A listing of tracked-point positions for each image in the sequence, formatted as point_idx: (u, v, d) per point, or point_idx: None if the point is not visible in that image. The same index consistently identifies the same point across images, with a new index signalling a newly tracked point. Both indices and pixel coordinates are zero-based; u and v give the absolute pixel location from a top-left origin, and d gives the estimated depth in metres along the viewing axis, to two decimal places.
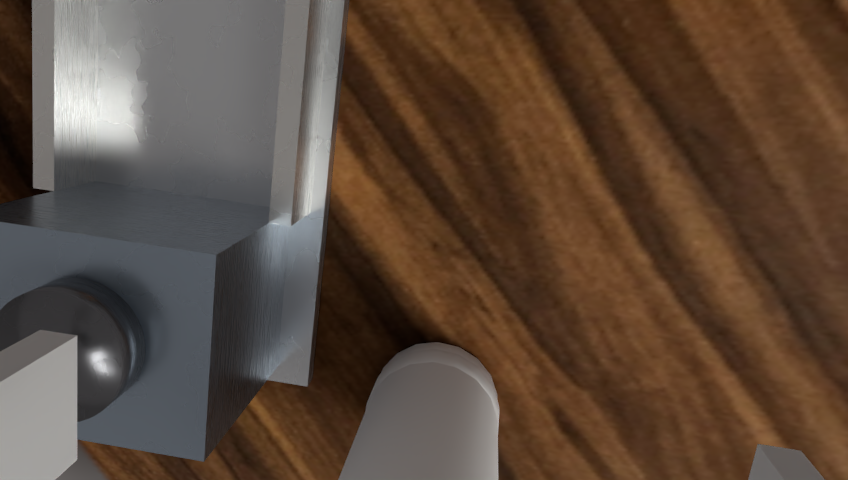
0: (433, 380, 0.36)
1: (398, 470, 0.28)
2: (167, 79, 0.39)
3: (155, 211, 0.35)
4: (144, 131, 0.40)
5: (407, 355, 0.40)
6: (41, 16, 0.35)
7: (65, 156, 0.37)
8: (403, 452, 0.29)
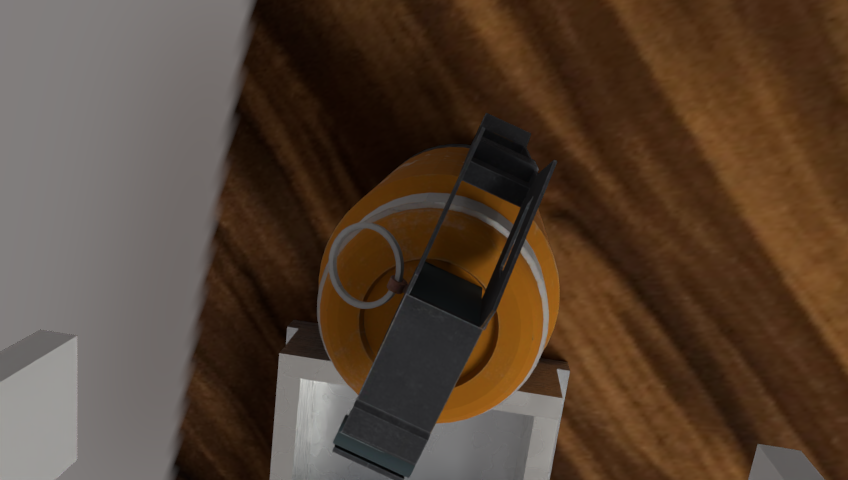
0: None
1: None
2: (378, 476, 0.40)
3: None
4: None
5: None
6: (280, 462, 0.36)
7: None
8: None
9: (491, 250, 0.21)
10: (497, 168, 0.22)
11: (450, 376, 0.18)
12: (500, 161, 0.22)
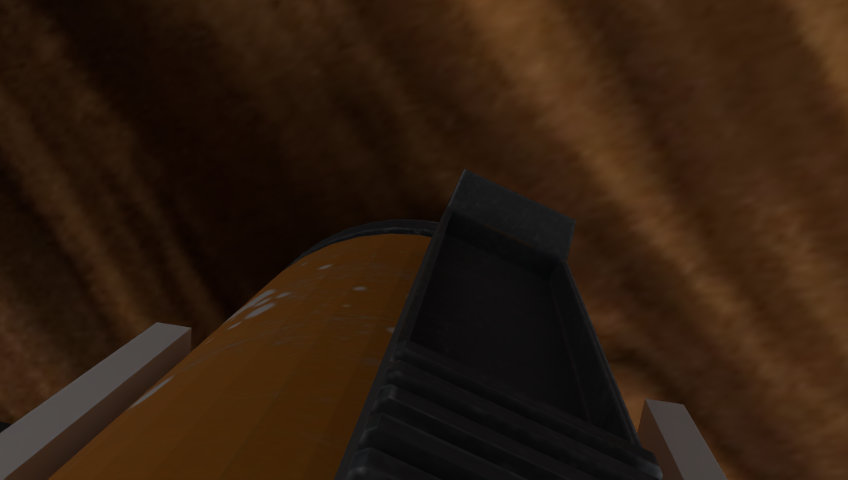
0: None
1: None
2: None
3: None
4: None
5: None
6: None
7: None
8: None
9: None
10: None
11: None
12: None
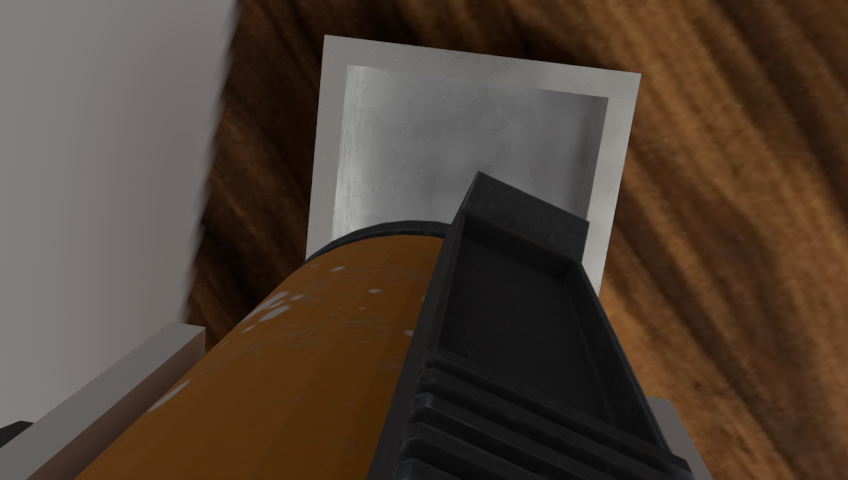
0: None
1: None
2: (425, 218, 0.37)
3: None
4: None
5: None
6: (323, 169, 0.33)
7: None
8: None
9: None
10: None
11: None
12: None
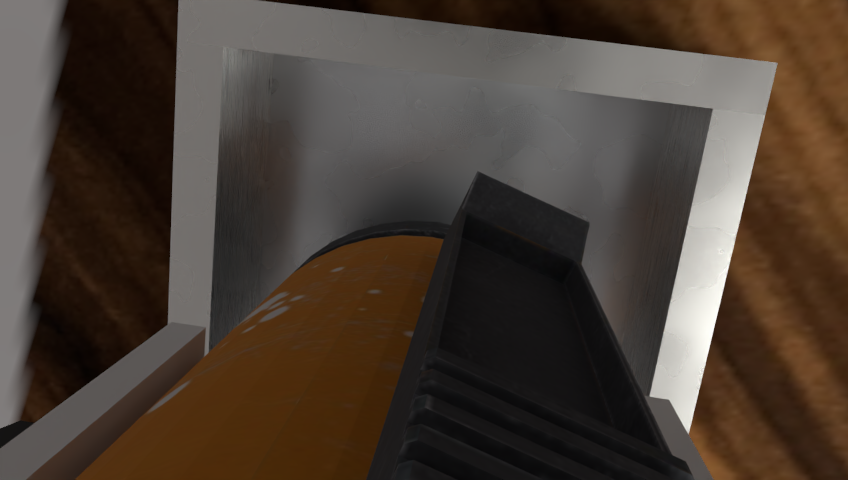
0: None
1: None
2: None
3: None
4: None
5: None
6: (189, 235, 0.18)
7: None
8: None
9: None
10: None
11: None
12: None
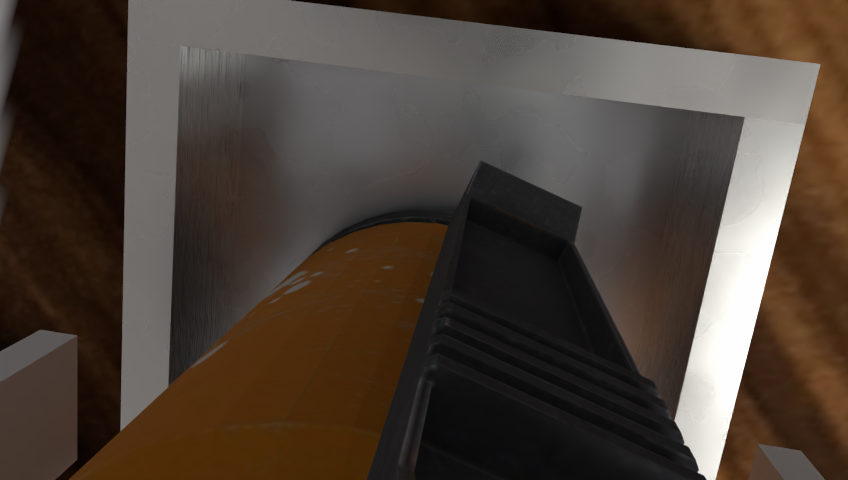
0: None
1: None
2: None
3: None
4: None
5: None
6: (144, 260, 0.16)
7: None
8: None
9: None
10: None
11: None
12: (539, 462, 0.05)
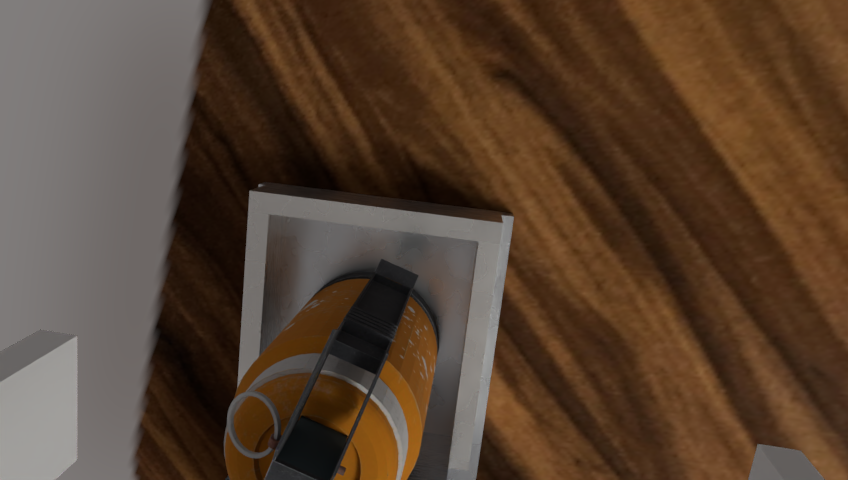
0: None
1: None
2: None
3: None
4: None
5: None
6: (251, 296, 0.40)
7: None
8: None
9: (352, 409, 0.27)
10: (361, 340, 0.29)
11: None
12: (363, 334, 0.29)
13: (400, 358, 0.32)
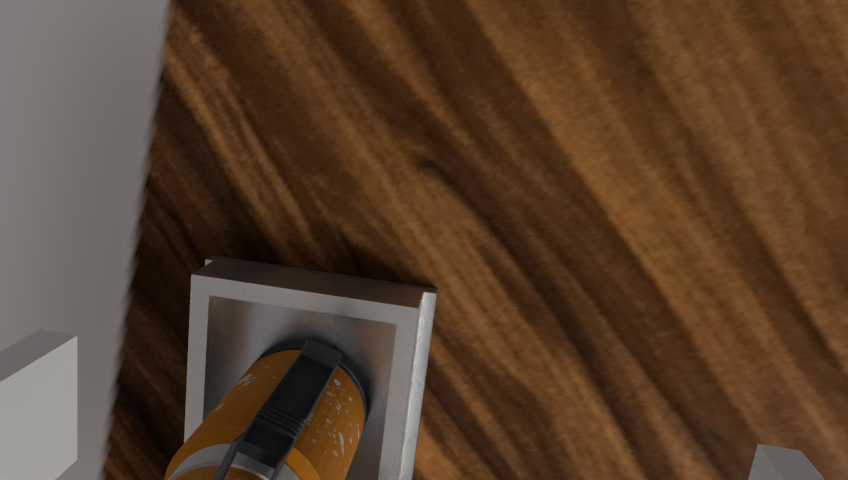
0: None
1: None
2: None
3: None
4: None
5: None
6: (194, 366, 0.44)
7: None
8: None
9: None
10: (268, 437, 0.33)
11: None
12: (270, 432, 0.33)
13: (311, 443, 0.36)
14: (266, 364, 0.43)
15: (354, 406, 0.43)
